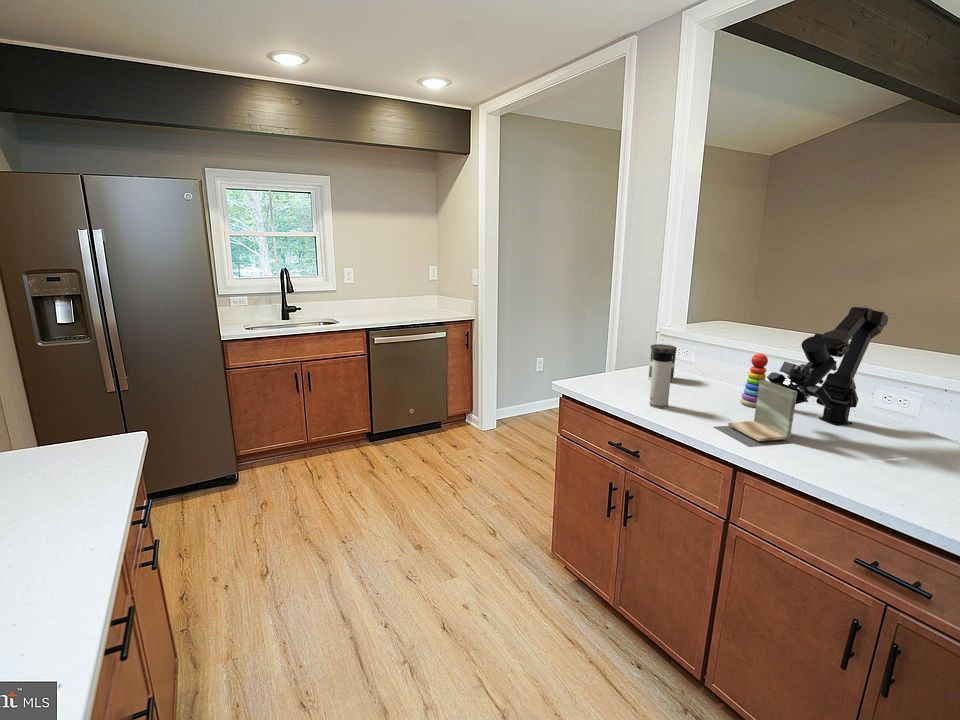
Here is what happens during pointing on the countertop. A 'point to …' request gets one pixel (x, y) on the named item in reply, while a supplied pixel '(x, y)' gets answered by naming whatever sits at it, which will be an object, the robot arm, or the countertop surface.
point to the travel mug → (660, 379)
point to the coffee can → (662, 349)
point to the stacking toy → (754, 380)
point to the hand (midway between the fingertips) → (777, 408)
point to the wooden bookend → (770, 413)
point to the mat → (748, 437)
